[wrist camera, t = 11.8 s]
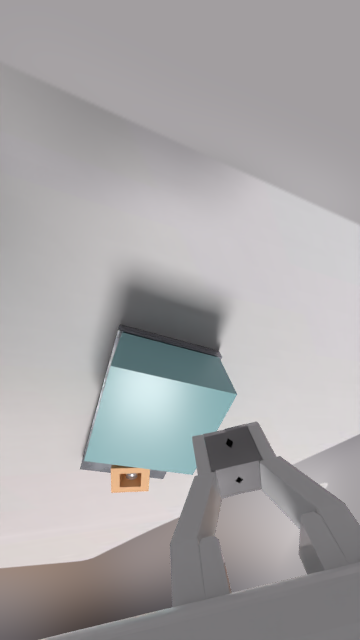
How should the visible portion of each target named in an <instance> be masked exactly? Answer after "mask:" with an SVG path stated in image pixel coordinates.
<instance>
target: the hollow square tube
mask: <svg viewBox="0 0 360 640" xmlns="http://www.w3.org/2000/svg"><path fill="white" fill-rule="evenodd" d="M130 473H138V474H137V478H136V479H133V480H129V479H127V478H126V474H130ZM149 476H150V469H144V468H136V467H128V466H120V465H111V493H117V492H138V491H148V489H149Z"/></svg>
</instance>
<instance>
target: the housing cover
mask: <svg viewBox="0 0 360 640" xmlns="http://www.w3.org/2000/svg"><path fill="white" fill-rule="evenodd" d="M236 395H237V393H236V391H235V389H234V387H233V385H232V383H231V381H230V379H229V377H228V375H227V373H226V371H225V369H224V367H223V365H222V363H221V361H220V359H219V358H218V357H214V356H211V355H207V354H203V353H199V352H195V351H192V350H188V349H184V348H180V347H176V346H172V345H169V344H165V343H161V342H157V341H153V340H150V339H146V338H142V337H138V336H134V335H130V334H127V333H123V332H122V334H121V337H120V340H119V342H118V345H117V348H116V351H115V354H114V357H113V360H112V363H111V366H110V369H109V373H108V376H107V380H106V384H105V387H104V391H103V394H102V398H101V402H100V405H99V409H98V412H97V416H96V420H95V423H94V427H93V430H92V434H91V438H90V441H89V445H88V448H87V452H86V456H85V459H84V461H88V462H96V463H104V464H112V465H120V466H128V467H136V468H144V469H151V470H159V471H167V472H175V473H183V474H191V475H193V473H194V471H195V469H196V468H197V466H196V460H195V454H194V448H193V442H192V436H197V435H201V434H206V433H211V432H216V431H217V430H218V428H219V426H220V424H221V422H222V421H223V419H224V417H225V415H226V413H227V412H228V410H229V408H230V406H231V404H232V403H233V401H234V399H235V397H236ZM203 436H204V435H203ZM204 441H205V440H204ZM205 445H206V444H205Z"/></svg>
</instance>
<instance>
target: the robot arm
mask: <svg viewBox="0 0 360 640" xmlns="http://www.w3.org/2000/svg"><path fill="white" fill-rule="evenodd" d="M203 435H204V436H203ZM204 440H205V441H204ZM192 442H193V448H194V454H195V460H196V466H197V472H198V476H195V477H194V480H193V482H192V485H191V488H190V491H189V493H188V496H187V499H186V502H185V504H184V507H183V510H182V513H181V515H180V518H179V521H178V524H177V527H176V529H175V532H174V535H173V537H172V540H171V543H170V555H171V579H172V580H171V581H172V608H168V609H164V610H160V611H155V612H151V613H147V614H143V615H139V616H135V617H131V618H127V619H123V620H118V621H114V622H110V623H106V624H102V625H98V626H94V627H90V628H85V629H81V630H77V631H73V632H69V633H65V634H61V635H57V636H53V637H48V638H44V639H40V640H360V525H359V523H358V522H357V520H356V519H355V518H354V516H353V515H352V513H351V512H350V510H349V509H348V507H347V506H346V504H345V503H344V502H342V501H341V500H340V499H338V498H337V497H336V496H334V495H333V494H331V493H330V492H329V491H327V490H326V489H324V488H323V487H322V486H320V485H319V484H318V483H316V482H315V481H313V480H312V479H311V478H309V477H308V476H306V475H305V474H304V473H302V472H301V471H299V470H298V469H297V468H295V467H294V466H293V465H291V464H290V463H289V462H287V461H286V460H284V459H283V458H282V457H280V456H279V457H276V455H275V453H274V451H273V449H272V448H271V446H270V444H269V442H268V440H267V438H266V436H265V434H264V433H263V431H262V429H261V427H260V425H259V423H258V422H253V423H249V424H243V425H239V426H235V427H231V428H227V429H224V430H221V431H216V432H211V433H206V434H201V435H197V436H192ZM205 444H206V445H205ZM260 489H262V491H263V492H264V493H265V494H266V495H267V496H268V497H269V498H270V499H271V500H272V501H273V502H274V504H275V505H277V507H278V508H279V509H280V510H281V511H282V512H283V513H284V514H285V515H286V516H287V517H288V518H289V519H290V520H291V521H292V522H293V523H294V524H295V525H296V526H297V527H298V528H299V529H300V541H299V556H300V559H301V561H302V563H303V566H304V568H305V570H306V573H307V575H304V576H300V577H295V578H291V579H287V580H283V581H279V582H275V583H271V584H267V585H263V586H258V587H254V588H250V589H246V590H242V591H238V592H234V593H232V592H231V588H230V583H229V578H228V574H227V570H226V566H225V562H224V558H223V554H222V550H221V546H220V542H219V539H217V538H216V537H215V532H216V527H217V522H218V517H219V512H220V507H221V502H222V498H226V497H229V496H233V495H237V494H241V493H245V492H250V491H255V490H260Z"/></svg>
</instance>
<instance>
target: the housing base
mask: <svg viewBox="0 0 360 640" xmlns="http://www.w3.org/2000/svg"><path fill="white" fill-rule="evenodd" d="M122 332H123V333H127V334H130V335H134V336H138V337H142V338H146V339H150V340H153V341H157V342H161V343H165V344H169V345H172V346H176V347H180V348H184V349H188V350H192V351H195V352H199V353H203V354H207V355H211V356H214V357H218V358H219V359H220V361H221V358H222V356H221V354H220V352H219V351H217V350H213V349H209V348H205V347H202V346H198V345H194V344H191V343H187V342H183V341H179V340H176V339H172V338H168V337H165V336H161V335H157V334H153V333H150V332H146V331H142V330H139V329H135V328H131V327H127V326H124V325H120V326H119V329H118V332H117V335H116V339H115V343H114V346H113V350H112V354H111V357H110V361H109V365H108V368H107V372H106V376H105V379H104V383H103V387H102V390H101V394H100V398H99V401H98V405H97V409H96V412H95V416H94V420H93V423H92V427H91V431H90V434H89V438H88V442H87V445H86V449H85V453H84V456H83V460H82V464H81V467H80V469H83V470H92V471H100V472H109V473H111V465H112V464H104V463H96V462H88V461H84V459H85V456H86V452H87V448H88V445H89V441H90V438H91V434H92V430H93V427H94V423H95V420H96V416H97V412H98V409H99V405H100V402H101V398H102V394H103V391H104V387H105V384H106V380H107V376H108V373H109V369H110V366H111V363H112V360H113V357H114V354H115V351H116V348H117V345H118V342H119V340H120V337H121V334H122ZM166 472H167V471H159V470H151V469H150V476H149V477H151V478H160V479H163V478H164V476H165V474H166ZM137 474H138V473H130V474H126V478H127V479H129V480H133V479H136V478H137Z"/></svg>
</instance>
